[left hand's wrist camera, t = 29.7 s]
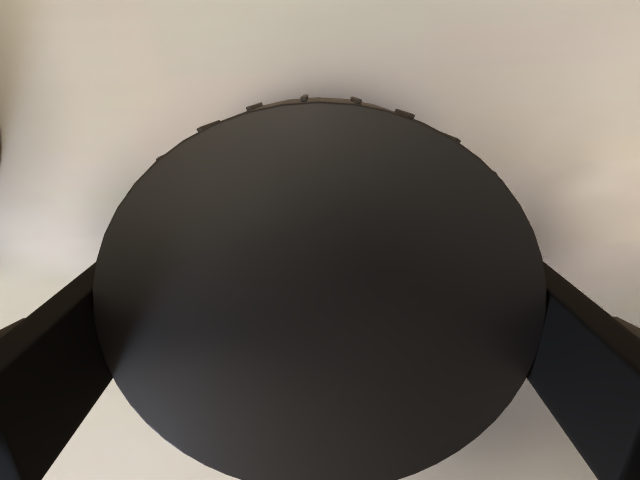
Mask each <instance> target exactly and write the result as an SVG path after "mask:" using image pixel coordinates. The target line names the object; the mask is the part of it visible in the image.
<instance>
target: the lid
mask: <svg viewBox="0 0 640 480" xmlns="http://www.w3.org/2000/svg"><path fill="white" fill-rule="evenodd" d="M246 109H247V111H246V112H244V113H241V114H238V115H236V116H233V117H230V118H228V119H225V120H223V121H220V120H218V121H215V122H212V123H210V124H207V125H204V126H201V127H199V128H197V131H198V133H196V134H194V135H192V136H191V137H189V138H187V139H185V140H183V141H182V142H180V143H179V144H178V145H177V146H175V147H174V148H173V149H171V150H170V151H169V152H167V153H166V154H164V155H162V156H160V157H158V158H157V159H156V162H155V163H154V164H153V165H152V166H151V167H150V168H149V169H148V170H147V171H146V172H145V173H144V174H143V175H142V176H141V177H140V178H139V179H138V180H137V181H136V182H135V183H134V185H133V186H132V188H131V189H130V191H129V192H128V193H127V195H126V196H125V198H124V199H123V201H122V202H121V203H120V205H119V206H118V208H117V210H116V212H115V214H114V216H113V218H112V220H111V222H110V224H109V226H108V228H107V230H106V232H105V234H104V237H103V241H102V244H101V247H100V251H99V254H98V257H97V261H96V267H95V275H94V282H93V315H94V320H95V325H96V329H97V334H98V338H99V342H100V346H101V349H102V353H103V356H104V359H105V362H106V364H107V366H108V368H109V370H110V372H111V374H112V376H113V378H114V380H115V382H116V384H117V386H118V387H119V389H120V390H121V392H122V393H123V395H124V396H125V398H126V399H127V400H128V402H129V403H130V405H131V406H132V407H133V408H134V409H135V411H136V412H137V413H138V414H139V415H140V416H141V417H142V419H143V420H144V421H145V422H146V423H147V424H148V425H149V426H150V427H151V428H152V429H154V430H155V431H156V432H157V433H158V434H159V435H160V436H161V437H162V438H164V439H165V440H166V441H168V442H169V443H170V444H172V445H173V446H175V447H176V448H177V449H179V450H180V451H181V452H183V453H184V454H186V455H188V456H190V457H191V458H193V459H195V460H197V461H198V462H200V463H202V464H204V465H206V466H208V467H210V468H212V469H215V470H217V471H219V472H222V473H224V474H226V475H229V476H232V477H235V478H238V479H241V480H398V479H401V478H404V477H407V476H410V475H413V474H416V473H418V472H420V471H422V470H424V469H427V468H429V467H431V466H433V465H435V464H437V463H439V462H441V461H443V460H444V459H446V458H448V457H449V456H451V455H453V454H454V453H456V452H458V451H459V450H461V449H462V448H463V447H465V446H466V445H467V444H469V443H470V442H471V441H473V440H474V439H475V438H477V437H478V436H479V435H480V434H481V433H482V432H483V431H484V430H485V429H487V428H488V427H489V426H490V425H491V424H492V423H493V422H494V421H495V420H496V419H497V418H498V417H499V415H500V414H501V413H502V412H503V411H504V409H505V408H506V407H507V406H508V405H509V404H510V402H511V401H512V399H513V398H514V396H515V395H516V393H517V392H518V390H519V389H520V387H521V386H522V384H523V383H524V381H525V379H526V377H527V375H528V372H529V370H530V368H531V366H532V364H533V362H534V360H535V357H536V354H537V351H538V347H539V343H540V339H541V336H542V331H543V327H544V321H545V315H546V279H545V273H544V267H543V260H542V256H541V252H540V249H539V246H538V243H537V240H536V237H535V234H534V231H533V229H532V227H531V225H530V223H529V221H528V219H527V217H526V215H525V213H524V211H523V209H522V207H521V205H520V204H519V203H518V201H517V200H516V198H515V197H514V196H513V194H512V193H511V192H510V190H509V189H508V188H507V186H506V185H505V183H504V182H503V181H502V180H501V179H500V178H499V177H498V176H497V174H496V172H494V171H492V170H491V169H490V168H489V167H488V166H487V165H486V164H485V163H484V162H483V161H482V160H481V159H480V158H479V157H478V156H476V155H475V154H474V153H472V152H471V151H469V150H468V149H467V148H465V147H464V146H463V145H461V144H460V142H461V141H460V140H459V139H458V138H455V137H453V136H450V135H448V134H445V133H443V132H440V131H438V130H436V129H434V128H432V127H430V126H428V125H426V124H425V123H423V122H420V121H417V120H415V119H414V116H415V115H413V114H411V113H408V112H405V111H402V110H399V109H396V110H395V112H393V111H390V110H388V109H385V108H382V107H379V106H376V105H373V104H368V103H363V102H362V100H361V99H358V98H356V97H351V100H348V99H334V98H308V95H303V96H302V97H301V99H292V100H286V101H281V102H277V103H272V104H268V105H262V102H261V103H258V104H255V105H252V106H249V107H246Z"/></svg>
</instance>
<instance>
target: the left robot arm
mask: <svg viewBox="0 0 640 480" xmlns="http://www.w3.org/2000/svg"><path fill="white" fill-rule="evenodd" d="M95 267H96V262H95V263H94V264H93V265H92V266H90V267H89V268H88V269H87V270H85V271H84V272H83V273H82V274H80V275H79V276H78V277H77V278H75V279H74V280H73V281H72V282H70V283H69V284H68V285H67V286H65V287H64V288H63V289H62V290H60V291H59V292H58V293H57V294H55V295H54V296H53V297H52V298H50V299H49V300H48V301H47V302H45V303H44V304H43V305H42V306H40V307H39V308H38V309H37V310H35V311H34V312H33V313H32V314H30V315H29V316H28V317H27V318H23V319H21V320H19V321H17V322H15V323H13V324H11V325H9V326H7V327H5V328H3V329H1V330H0V480H42V478H43V477H44V475H45V474H46V473H47V471H48V470H49V468H50V467H51V465H52V464H53V463H54V461H55V460H56V458H57V457H58V455H59V454H60V453H61V451H62V450H63V448H64V447H65V445H66V444H67V443H68V441H69V440H70V438H71V437H72V436H73V434H74V433H75V431H76V430H77V428H78V427H79V426H80V424H81V423H82V421H83V420H84V418H85V417H86V416H87V414H88V413H89V411H90V410H91V408H92V407H93V406H94V404H95V403H96V401H97V400H98V398H99V397H100V396H101V394H102V393H103V391H104V390H105V389H106V387H107V386H108V384H109V383H110V381H111V380H112V379H113V376H112V374H111V372H110V370H109V368H108V366H107V364H106V362H105V359H104V356H103V353H102V349H101V346H100V342H99V338H98V334H97V329H96V325H95V320H94V315H93V282H94V275H95ZM543 267H544V273H545V279H546V315H545V321H544V327H543V331H542V336H541V339H540V343H539V347H538V351H537V354H536V357H535V360H534V362H533V364H532V366H531V368H530V370H529V372H528V375H527V377H526V378H527V379H528V380H529V382H530V383H531V385H532V386H533V387H534V389H535V390H536V392H537V393H538V395H539V396H540V397H541V399H542V400H543V402H544V403H545V405H546V406H547V407H548V409H549V410H550V412H551V413H552V415H553V416H554V417H555V419H556V420H557V422H558V423H559V425H560V426H561V427H562V429H563V430H564V432H565V433H566V434H567V436H568V437H569V439H570V440H571V442H572V443H573V444H574V446H575V447H576V449H577V450H578V452H579V453H580V454H581V456H582V457H583V459H584V460H585V462H586V463H587V464H588V466H589V467H590V469H591V470H592V472H593V473H594V474H595V476H596V477H597V479H598V480H640V328H638V327H636V326H634V325H632V324H630V323H628V322H626V321H624V320H622V319H620V318H618V317H612V316H611V315H609V314H608V313H607V312H606V311H604V310H603V309H602V308H601V307H599V306H598V305H597V304H596V303H594V302H593V301H592V300H591V299H589V298H588V297H587V296H586V295H584V294H583V293H582V292H581V291H579V290H578V289H577V288H576V287H574V286H573V285H572V284H571V283H569V282H568V281H567V280H566V279H564V278H563V277H562V276H561V275H559V274H558V273H557V272H556V271H554V270H553V269H552V268H551V267H549V266H548V265H547V264H546V263H544V262H543Z"/></svg>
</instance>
